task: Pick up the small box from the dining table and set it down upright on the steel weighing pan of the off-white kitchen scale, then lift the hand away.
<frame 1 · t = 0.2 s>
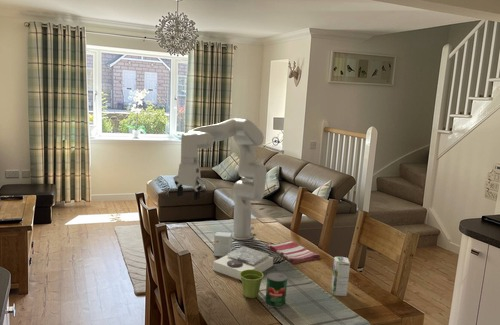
hand: (188, 197, 190), 31 cm above the table, tool pointing down, fingers open, 9 cm apart
dish towel: (292, 254, 212), on the table
plant pot: (250, 295, 166), on the table
scale pan: (248, 255, 192), point 5 cm above the table, slide at 0.5 cm
syrup box: (338, 293, 171), on the table
scale: (243, 267, 190), on the table
canned tomato: (275, 303, 160), on the table
small box: (222, 254, 205), on the table
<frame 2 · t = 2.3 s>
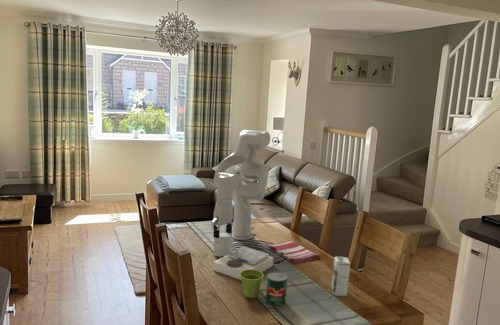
hand: (222, 235, 202), 10 cm above the table, tool pointing down, fingers open, 9 cm apart
small box: (222, 255, 205), on the table, touching gripper
everything else where it was.
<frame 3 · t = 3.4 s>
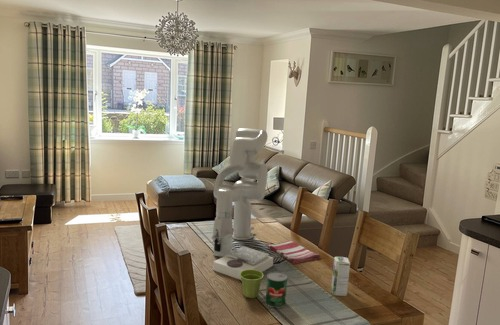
hand: (222, 248, 204), 3 cm above the table, tool pointing down, fingers closed on small box, 7 cm apart
small box: (222, 255, 204), on the table, touching gripper
everything else where it was.
when the fingers open (10 cm above the table, at t = 9.5 s): small box drops 2 cm, resting on scale pan.
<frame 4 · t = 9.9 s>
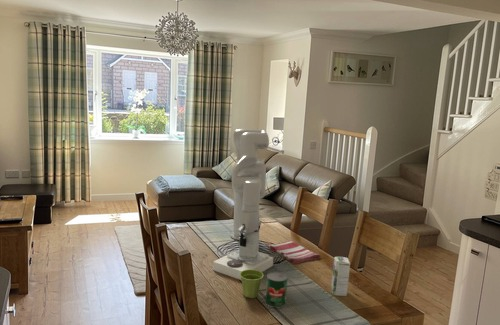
hand: (249, 243, 191), 11 cm above the table, tool pointing down, fingers open, 9 cm apart
scale pan: (248, 255, 193), point 5 cm above the table, slide at 0.9 cm, touching small box
small box: (248, 255, 193), point 5 cm above the table, touching scale pan
everything else where it was.
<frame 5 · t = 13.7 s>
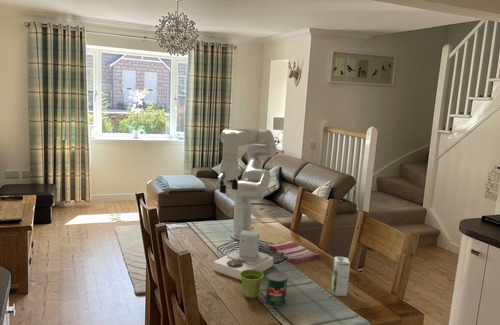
hand: (228, 191, 207), 30 cm above the table, tool pointing down, fingers open, 9 cm apart
nothing on the table moved.
at the end: small box inside the target area on the scale (0.2 cm from its centre), point 4.9 cm above the scale's base; small box tilted 0°; small box touching scale pan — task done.
